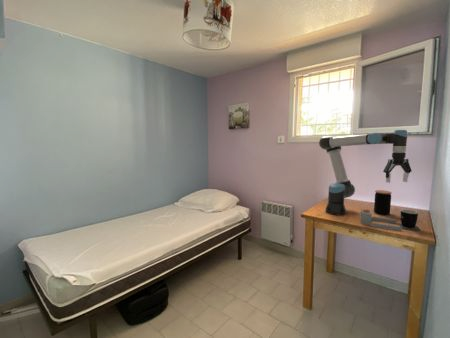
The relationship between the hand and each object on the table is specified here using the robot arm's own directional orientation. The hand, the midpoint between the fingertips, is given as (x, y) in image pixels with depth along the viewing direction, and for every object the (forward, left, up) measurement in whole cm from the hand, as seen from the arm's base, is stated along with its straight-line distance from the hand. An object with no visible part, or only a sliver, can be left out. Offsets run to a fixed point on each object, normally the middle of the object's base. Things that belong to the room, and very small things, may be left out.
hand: (396, 182), depth 160 cm
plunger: (-18, -12, -24) cm, 33 cm away
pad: (+7, -11, -29) cm, 32 cm away
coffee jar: (-5, +17, -29) cm, 34 cm away
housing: (-10, -12, -29) cm, 33 cm away
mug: (+6, -12, -28) cm, 31 cm away
